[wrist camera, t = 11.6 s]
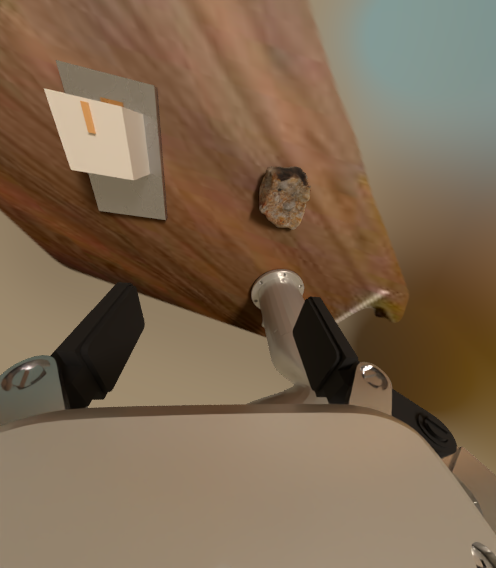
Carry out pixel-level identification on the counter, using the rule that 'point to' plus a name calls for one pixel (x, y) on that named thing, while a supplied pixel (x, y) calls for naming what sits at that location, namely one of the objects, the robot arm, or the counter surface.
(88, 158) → the orange-striped white cube
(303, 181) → the rock
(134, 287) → the robot arm
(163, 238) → the counter surface
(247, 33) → the counter surface
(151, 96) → the plate
